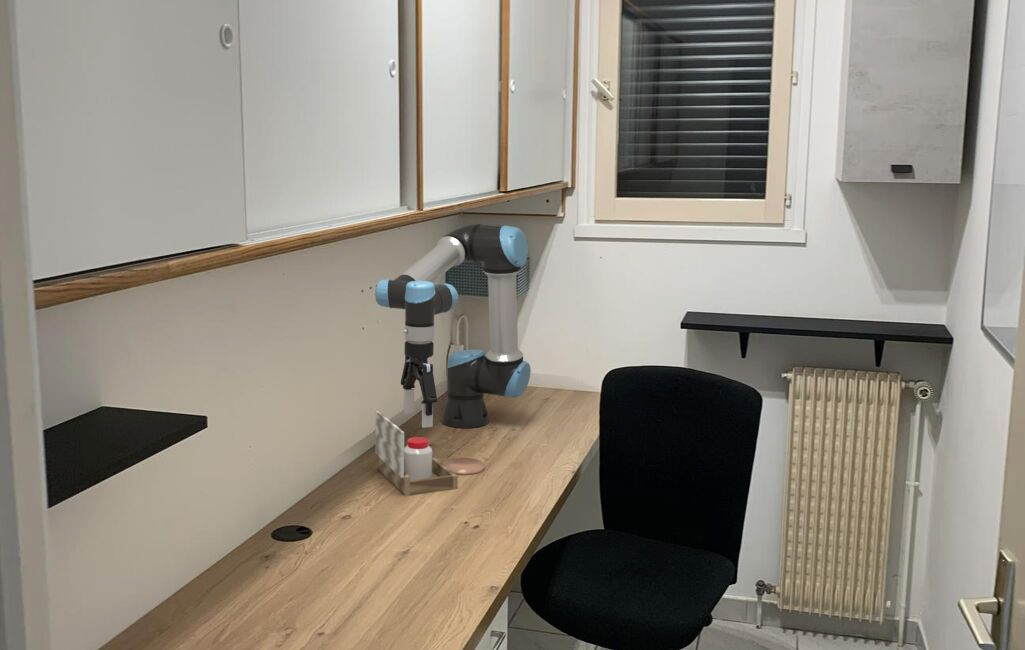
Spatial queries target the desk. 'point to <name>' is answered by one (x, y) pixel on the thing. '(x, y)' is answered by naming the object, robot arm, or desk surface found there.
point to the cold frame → (393, 462)
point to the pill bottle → (418, 458)
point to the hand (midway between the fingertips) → (417, 419)
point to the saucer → (464, 466)
